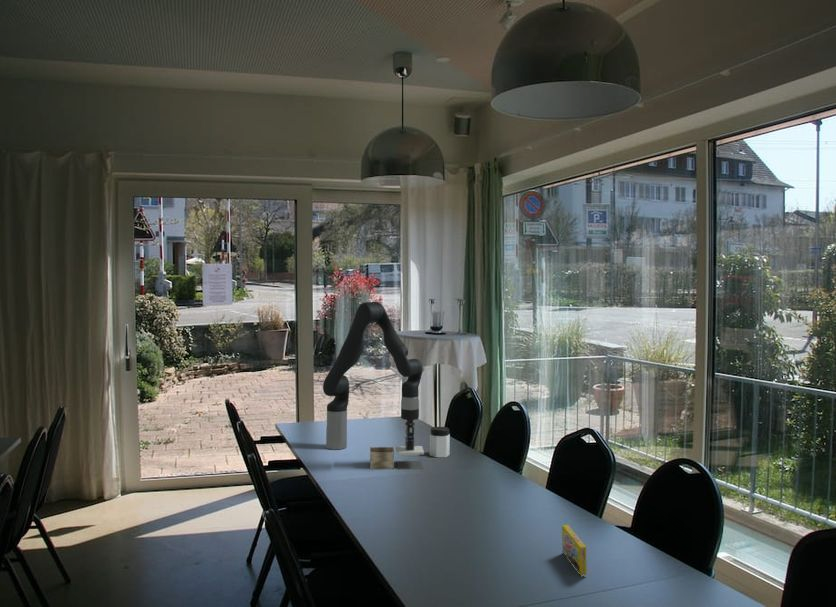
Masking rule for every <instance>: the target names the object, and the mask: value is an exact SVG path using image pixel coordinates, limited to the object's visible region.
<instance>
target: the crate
mask: <svg viewBox="0 0 836 607" xmlns="http://www.w3.org/2000/svg"><path fill="white" fill-rule="evenodd" d="M369 451H370V452H369V458H370V460H369V465H370V466H369V468H370V469H372V470H373V469H375V470H377V469H378V470H379V469H381V470H382V469H395V450H394V447H393V446H375V447H374V446H373V447H371V446H370V447H369Z"/></svg>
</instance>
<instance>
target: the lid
mask: <svg viewBox="0 0 836 607" xmlns="http://www.w3.org/2000/svg"><path fill="white" fill-rule="evenodd" d="M409 437H412V436H409ZM404 438H405V441H404V443H405V445H401V446H400V445H399V446H398V445H397V446H395V452H396V455H401V457H404V456H405V457H406V456H407V457H412V456H413V457H414V456H415V457H417V456H418V457H419V456H420V455H425V451H424V448H423V445H415V439H414V440H413V449H412V450H408V449H407V436H406V435H405V437H404Z"/></svg>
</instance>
